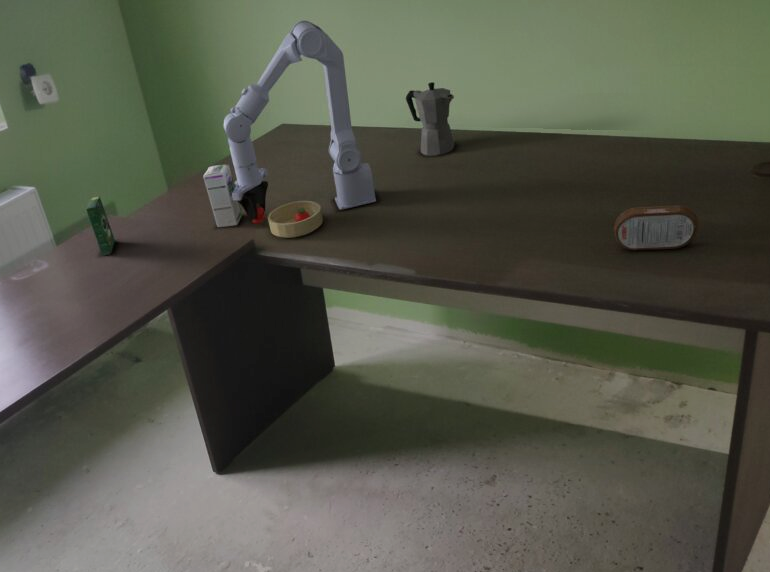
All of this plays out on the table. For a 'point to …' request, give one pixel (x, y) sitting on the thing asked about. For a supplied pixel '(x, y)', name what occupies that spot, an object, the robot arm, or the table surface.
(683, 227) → the tin
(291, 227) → the bowl
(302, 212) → the strawberry
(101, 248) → the coffee box
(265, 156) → the table surface
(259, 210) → the strawberry
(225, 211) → the white carton
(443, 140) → the coffeepot
